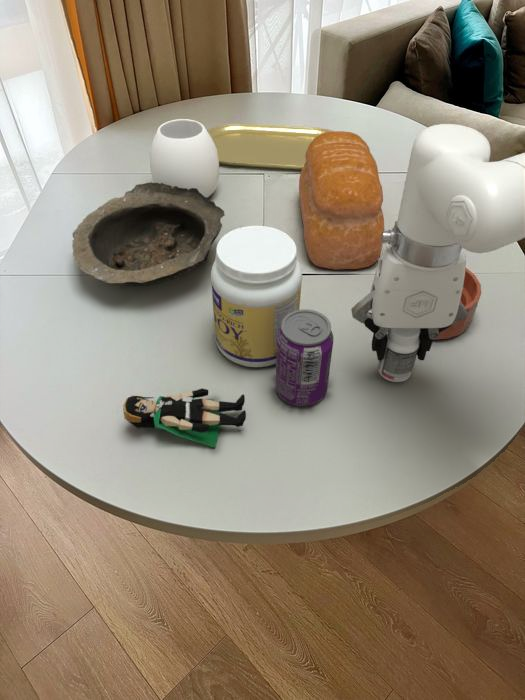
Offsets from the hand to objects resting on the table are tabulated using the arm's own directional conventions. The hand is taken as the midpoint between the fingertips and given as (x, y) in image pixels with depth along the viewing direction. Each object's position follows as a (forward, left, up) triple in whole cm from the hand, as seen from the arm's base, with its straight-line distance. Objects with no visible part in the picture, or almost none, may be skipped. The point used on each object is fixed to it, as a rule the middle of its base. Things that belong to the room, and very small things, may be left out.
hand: (399, 351), depth 76 cm
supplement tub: (+20, +4, -5) cm, 21 cm away
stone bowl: (+45, -3, -5) cm, 45 cm away
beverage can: (+10, +9, -5) cm, 14 cm away
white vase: (+53, -25, -5) cm, 59 cm away
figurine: (+20, +22, -5) cm, 30 cm away
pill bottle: (0, 0, -4) cm, 4 cm away
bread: (+22, -29, -5) cm, 37 cm away
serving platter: (+47, -50, -5) cm, 69 cm away
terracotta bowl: (0, -15, -5) cm, 16 cm away
